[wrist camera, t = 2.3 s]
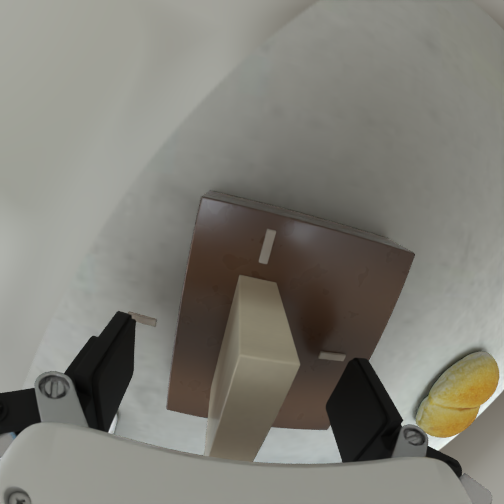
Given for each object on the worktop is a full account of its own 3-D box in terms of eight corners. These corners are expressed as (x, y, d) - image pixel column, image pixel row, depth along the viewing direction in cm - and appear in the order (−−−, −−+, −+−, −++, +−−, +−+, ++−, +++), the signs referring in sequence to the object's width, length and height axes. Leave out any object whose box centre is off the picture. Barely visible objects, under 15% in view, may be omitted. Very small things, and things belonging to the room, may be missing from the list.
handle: (239, 273, 12) (239, 360, 6) (276, 282, 12) (303, 370, 7) (210, 387, 14) (201, 479, 8) (241, 392, 14) (242, 485, 8)
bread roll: (498, 350, 19) (521, 371, 15) (449, 419, 21) (466, 443, 17) (454, 342, 18) (482, 370, 14) (398, 423, 20) (414, 454, 16)
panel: (164, 180, 14) (143, 184, 11) (388, 238, 15) (417, 255, 12) (140, 368, 17) (126, 400, 14) (318, 399, 18) (327, 432, 15)
